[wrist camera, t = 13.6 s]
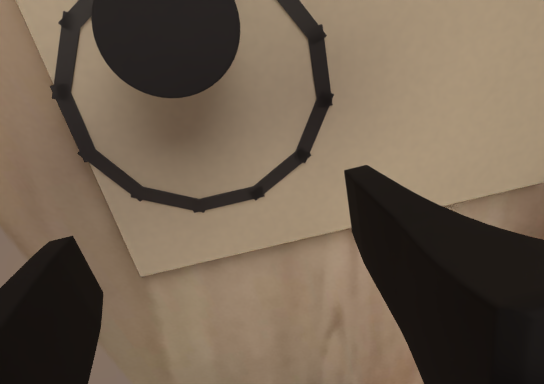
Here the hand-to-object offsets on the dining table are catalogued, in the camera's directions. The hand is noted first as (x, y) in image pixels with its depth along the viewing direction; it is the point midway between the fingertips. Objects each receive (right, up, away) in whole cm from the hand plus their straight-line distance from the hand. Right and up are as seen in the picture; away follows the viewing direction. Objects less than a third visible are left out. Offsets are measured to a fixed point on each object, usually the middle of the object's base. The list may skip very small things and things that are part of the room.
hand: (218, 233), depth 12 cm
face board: (+3, +6, +7) cm, 10 cm away
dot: (-2, +8, +4) cm, 9 cm away
